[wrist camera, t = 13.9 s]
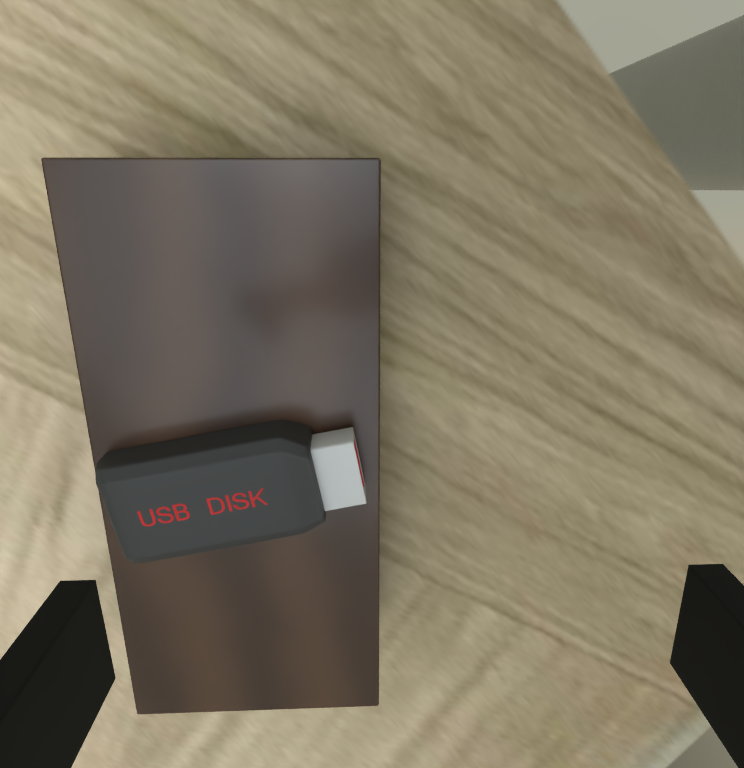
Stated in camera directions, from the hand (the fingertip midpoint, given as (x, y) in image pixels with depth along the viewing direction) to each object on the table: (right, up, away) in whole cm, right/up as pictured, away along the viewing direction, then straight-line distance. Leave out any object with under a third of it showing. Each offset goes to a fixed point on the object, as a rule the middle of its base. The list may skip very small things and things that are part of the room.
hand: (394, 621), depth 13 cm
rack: (-7, +3, +23) cm, 25 cm away
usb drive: (-7, +1, +16) cm, 17 cm away
